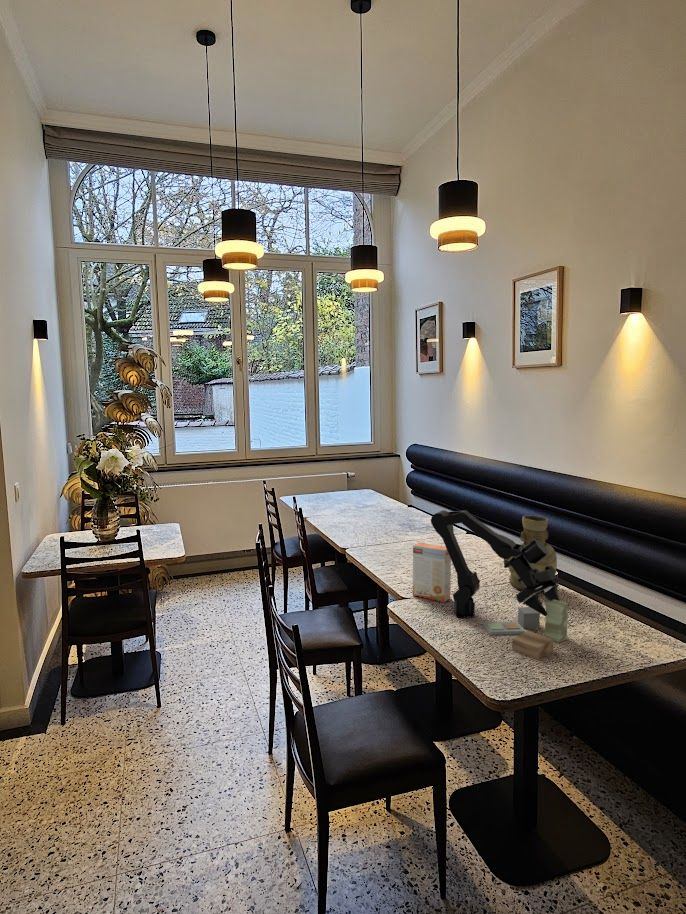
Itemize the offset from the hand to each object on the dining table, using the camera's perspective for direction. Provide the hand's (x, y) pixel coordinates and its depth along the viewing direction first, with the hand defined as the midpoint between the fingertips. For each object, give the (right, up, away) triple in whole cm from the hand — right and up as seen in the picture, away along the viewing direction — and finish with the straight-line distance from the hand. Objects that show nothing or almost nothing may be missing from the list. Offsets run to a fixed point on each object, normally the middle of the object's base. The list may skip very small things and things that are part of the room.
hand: (553, 611), depth 194 cm
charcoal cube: (-5, -8, +11) cm, 14 cm away
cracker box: (-35, -4, +38) cm, 51 cm away
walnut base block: (-10, -10, -8) cm, 16 cm away
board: (-15, -8, +7) cm, 18 cm away
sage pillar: (+1, -9, 0) cm, 9 cm away
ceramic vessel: (+8, -3, +47) cm, 48 cm away
